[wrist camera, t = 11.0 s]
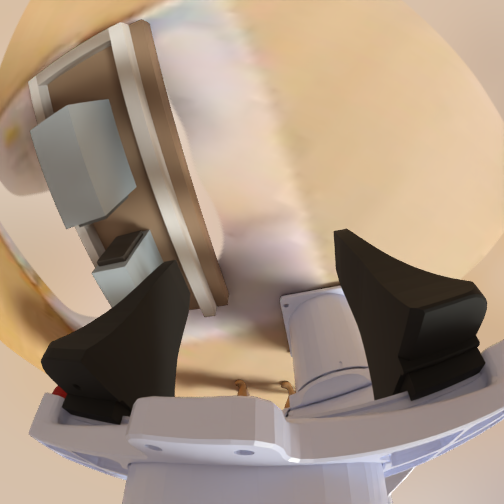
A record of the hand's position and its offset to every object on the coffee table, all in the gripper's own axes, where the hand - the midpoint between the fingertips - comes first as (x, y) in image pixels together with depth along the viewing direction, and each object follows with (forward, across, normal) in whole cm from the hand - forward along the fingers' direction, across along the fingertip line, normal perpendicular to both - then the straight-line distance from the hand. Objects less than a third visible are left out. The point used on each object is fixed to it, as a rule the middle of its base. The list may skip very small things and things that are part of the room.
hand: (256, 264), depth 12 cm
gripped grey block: (+8, +10, -6) cm, 14 cm away
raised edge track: (+9, +10, -3) cm, 14 cm away
